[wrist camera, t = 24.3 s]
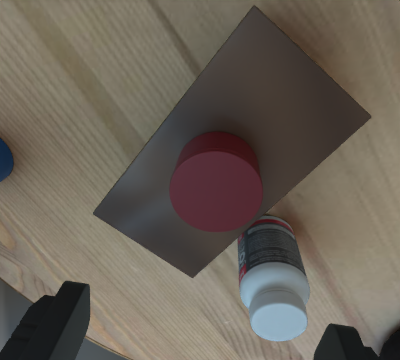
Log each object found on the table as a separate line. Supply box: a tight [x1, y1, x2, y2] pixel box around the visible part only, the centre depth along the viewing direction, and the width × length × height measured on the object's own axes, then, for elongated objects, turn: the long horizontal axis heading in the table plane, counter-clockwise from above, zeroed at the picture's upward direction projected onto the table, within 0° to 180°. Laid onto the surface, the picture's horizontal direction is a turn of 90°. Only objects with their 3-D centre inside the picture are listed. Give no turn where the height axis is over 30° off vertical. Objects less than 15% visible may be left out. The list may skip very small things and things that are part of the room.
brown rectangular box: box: [93, 5, 371, 278], centre depth 24 cm, size 17×9×7 cm, turn 141°
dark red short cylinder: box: [169, 132, 263, 233], centre depth 20 cm, size 5×5×3 cm
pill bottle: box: [238, 216, 310, 341], centre depth 27 cm, size 5×5×10 cm
